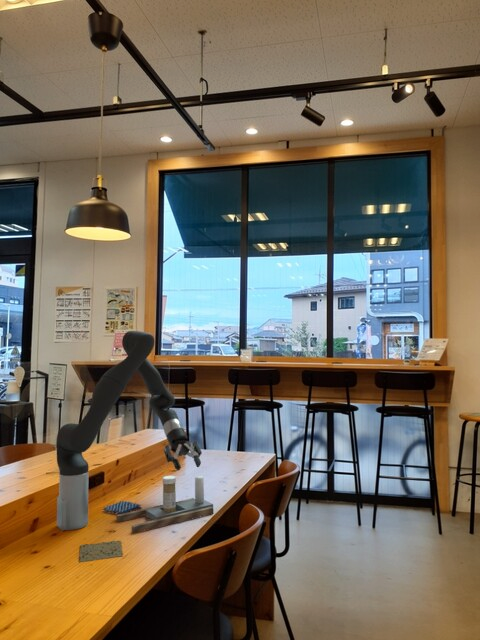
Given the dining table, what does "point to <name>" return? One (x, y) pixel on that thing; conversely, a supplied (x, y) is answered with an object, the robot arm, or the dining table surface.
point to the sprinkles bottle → (169, 494)
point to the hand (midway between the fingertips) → (189, 467)
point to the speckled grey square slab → (100, 551)
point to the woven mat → (122, 507)
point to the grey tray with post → (184, 503)
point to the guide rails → (161, 521)
